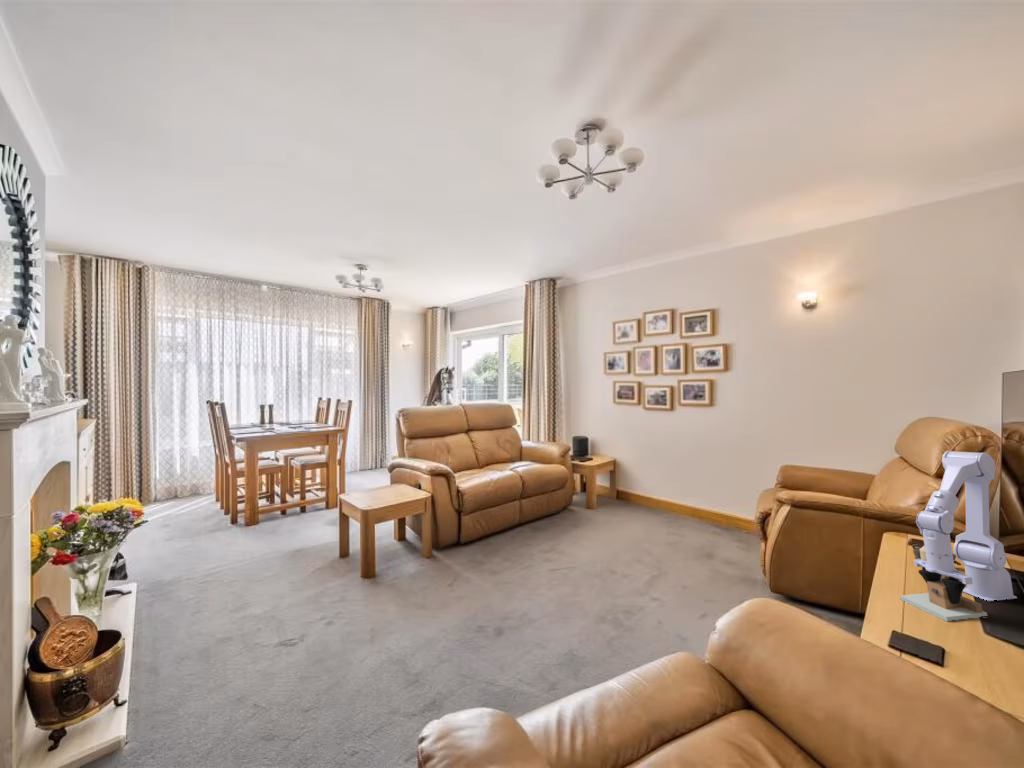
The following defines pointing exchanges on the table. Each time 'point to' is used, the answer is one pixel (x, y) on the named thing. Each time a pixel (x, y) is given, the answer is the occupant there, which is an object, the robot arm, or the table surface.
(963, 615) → the wall board
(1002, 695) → the table surface
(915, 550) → the dog figurine
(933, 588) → the cabinet block
